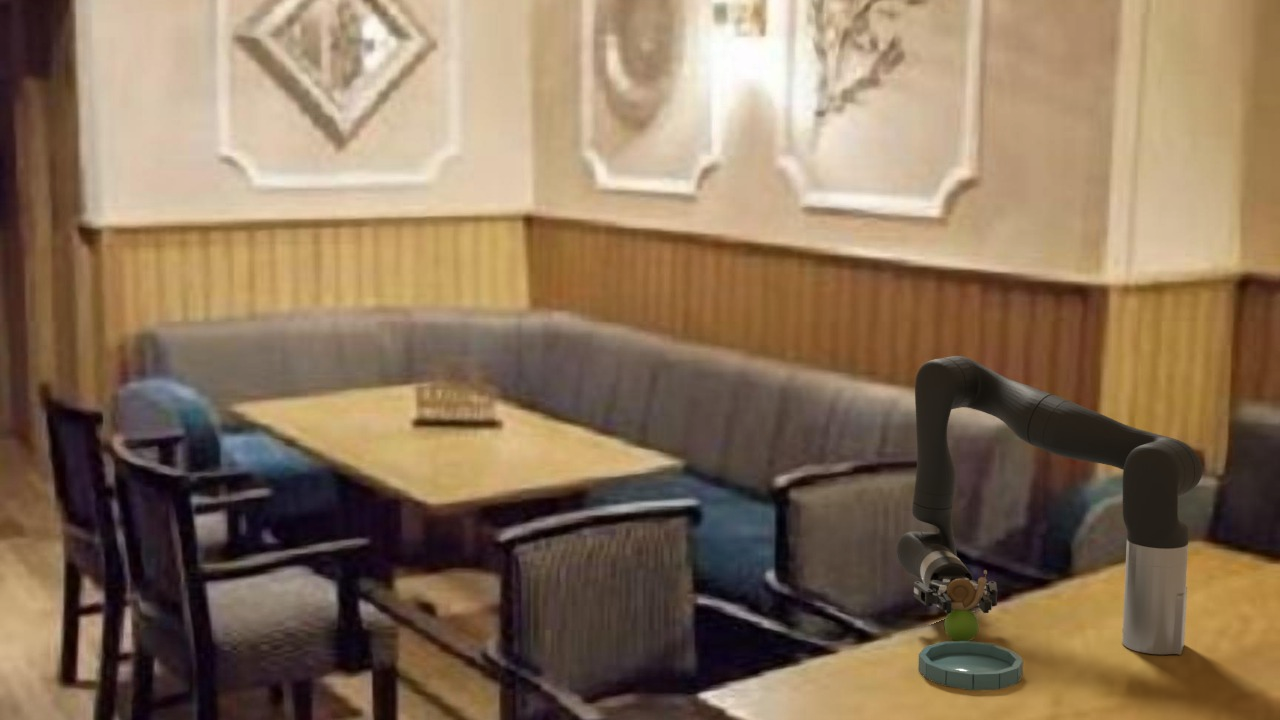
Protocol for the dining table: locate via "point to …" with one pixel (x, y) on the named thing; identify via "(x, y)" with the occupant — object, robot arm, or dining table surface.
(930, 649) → the dish
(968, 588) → the snail figurine
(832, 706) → the dining table surface
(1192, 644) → the dining table surface
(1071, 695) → the dining table surface
